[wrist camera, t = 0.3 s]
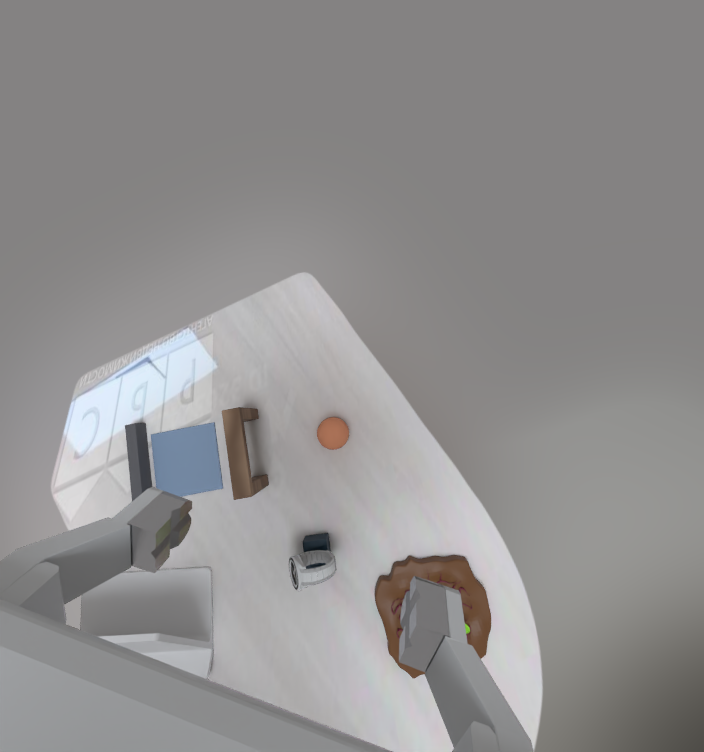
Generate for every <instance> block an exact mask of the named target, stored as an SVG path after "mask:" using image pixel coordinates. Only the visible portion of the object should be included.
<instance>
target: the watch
mask: <svg viewBox="0 0 704 752" xmlns="http://www.w3.org/2000/svg"><path fill="white" fill-rule="evenodd" d="M303 549H304V553H301V554H299V555H296V556H292V557H290V559H289V570H290V576H291V580H292V583H293V586H294V588H295V589H296V590H297V591H301V590H302V588H306V587H308V586H309V585H315V584H319V583H322V582H324V581H326V580H328V579H329V578H331V577H332V576H333V575H334V574H335V571H336V561H335V556H334V555H333V554H332V553H331V552H330V544H329V535H328V533H324V534H316V535H309V536H306V537H305V539H304V541H303ZM305 568H306V569H305ZM317 577H318V578H317Z"/></svg>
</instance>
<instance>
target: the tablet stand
mask: <svg viewBox="0 0 704 752" xmlns="http://www.w3.org/2000/svg"><path fill="white" fill-rule="evenodd" d="M80 630H81V631H84V632H87V633H89V634H92V635H94V636H97V637H99V638H102V639H104V640H107V641H110V642H112V643H115V644H117V645H120V646H122V647H125V648H128V649H130V650H133V651H135V652H138V653H141V654H143V655H146V656H148V657H151V658H154V659H156V660H159V661H161V662H164V663H166V664H169V665H171V666H174V667H177V668H179V669H182V670H184V671H187V672H189V673H192V674H195V675H197V676H200V677H202V678H205V679H207V678H208V677H209V674H210V669H211V663H212V658H213V597H212V569H211V568H210V567H193V568H177V569H161V570H158V571H157V572H156V573H152V572H149V571H130V572H122V573H120V574H118V575H116V576H115V577H113V578H111V579H109V580H107V581H106V582H104V583H102V584H100V585H98V586H97V587H95V588H93V589H91V590H89V591H88V592H86V593H84V594H82V600H81V629H80Z"/></svg>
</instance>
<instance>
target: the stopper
mask: <svg viewBox="0 0 704 752" xmlns="http://www.w3.org/2000/svg"><path fill="white" fill-rule="evenodd" d="M125 429H126V440H127V450H128V461H129V472H130V482H131V493H132V501H134V500H135V499H136V498H137V497H138V496H140V495H141V494H142V493H143V492H144V491H145V490H147V489H148V488H151V487H152V482H151V472H150V462H149V453H148V443H147V433H146V423H135V424H130V425H125Z"/></svg>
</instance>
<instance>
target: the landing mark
mask: <svg viewBox="0 0 704 752" xmlns="http://www.w3.org/2000/svg"><path fill="white" fill-rule="evenodd" d="M151 440H152V450H153V459H154V469H155V478H156V488H157V489H160V490H163V491H166V492H169V493H171V494H174V495H177V496H179V497H180V496H186V495H191V494H196V493H201V492H207V491H212V490H217V489H222V488H223V484H222V477H221V469H220V462H219V454H218V446H217V439H216V431H215V424H214V423H209V424H203V425H198V426H193V427H188V428H183V429H178V430H172V431H167V432H162V433H157V434H152V435H151Z"/></svg>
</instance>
